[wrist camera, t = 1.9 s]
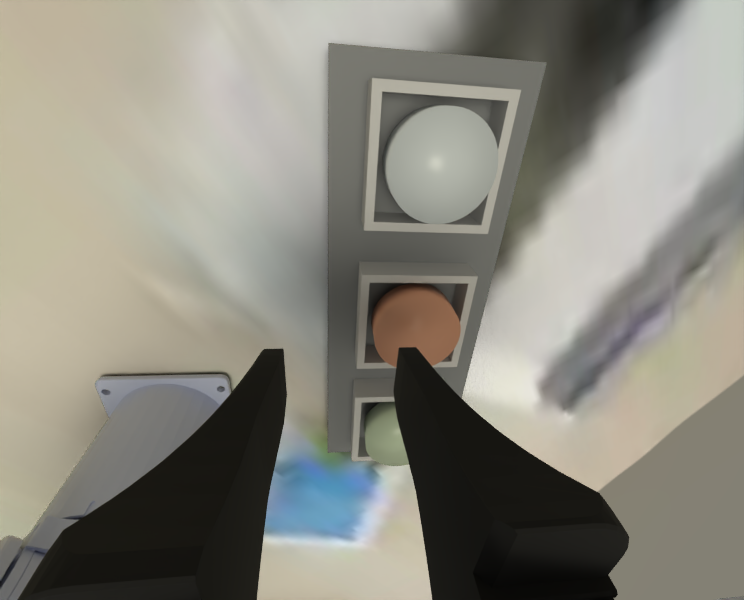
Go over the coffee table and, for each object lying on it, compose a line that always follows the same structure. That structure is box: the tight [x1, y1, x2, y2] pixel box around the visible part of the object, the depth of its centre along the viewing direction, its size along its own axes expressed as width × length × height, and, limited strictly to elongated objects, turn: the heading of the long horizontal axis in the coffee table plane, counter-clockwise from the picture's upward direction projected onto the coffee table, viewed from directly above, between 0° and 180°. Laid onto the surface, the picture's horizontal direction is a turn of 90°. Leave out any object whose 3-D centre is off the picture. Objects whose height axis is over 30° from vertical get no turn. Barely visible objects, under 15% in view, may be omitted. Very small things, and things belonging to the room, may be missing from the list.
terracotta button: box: [371, 283, 461, 367], centre depth 19 cm, size 4×4×2 cm
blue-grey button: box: [383, 105, 498, 224], centre depth 15 cm, size 4×4×2 cm
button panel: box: [328, 43, 547, 461], centre depth 20 cm, size 24×9×4 cm, turn 176°
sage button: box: [364, 401, 409, 466], centre depth 22 cm, size 4×4×2 cm
